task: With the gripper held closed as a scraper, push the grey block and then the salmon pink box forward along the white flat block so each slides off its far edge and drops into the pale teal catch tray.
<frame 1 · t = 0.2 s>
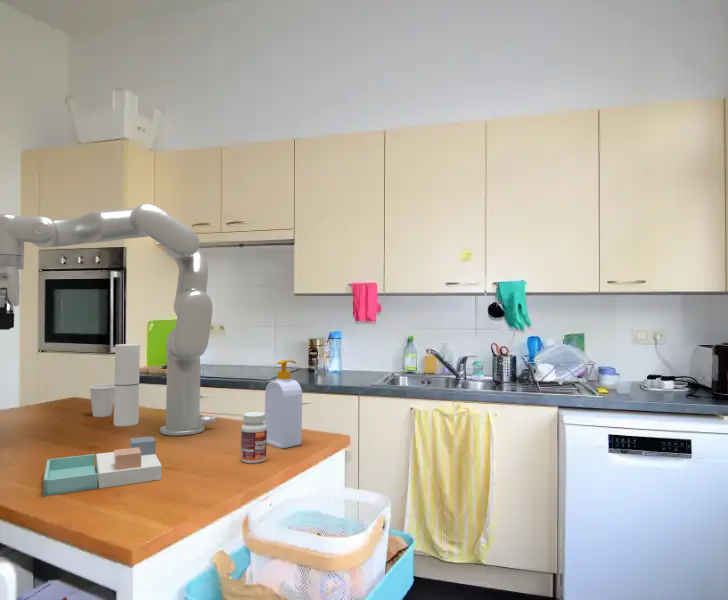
hand: (4, 328, 133), 31 cm above the table, fingers open, 9 cm apart
pill bottle: (253, 460, 126), on the table
salmon pink box: (127, 465, 111), point 3 cm above the table, touching white flat block
soap bottle: (283, 444, 142), on the table
dixie cup: (102, 415, 175), on the table
catch tray: (71, 480, 110), on the table
cylindrical container: (126, 424, 163), on the table
grey block: (142, 452, 121), point 3 cm above the table, touching white flat block
white flat block: (127, 473, 115), on the table
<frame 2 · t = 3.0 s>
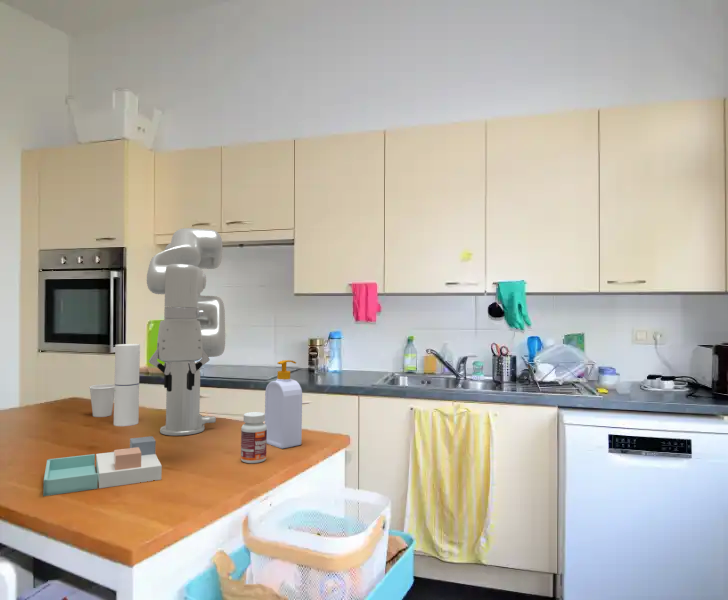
hand: (179, 389, 125), 17 cm above the table, fingers open, 4 cm apart
nothing on the table moved.
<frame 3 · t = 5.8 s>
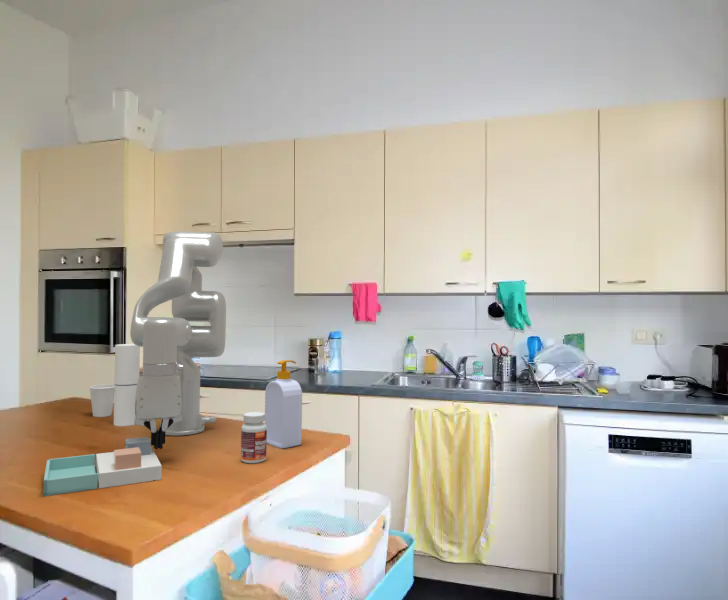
hand: (157, 447, 122), 4 cm above the table, fingers closed
grey block: (137, 453, 120), point 3 cm above the table, touching gripper
everything else where it was.
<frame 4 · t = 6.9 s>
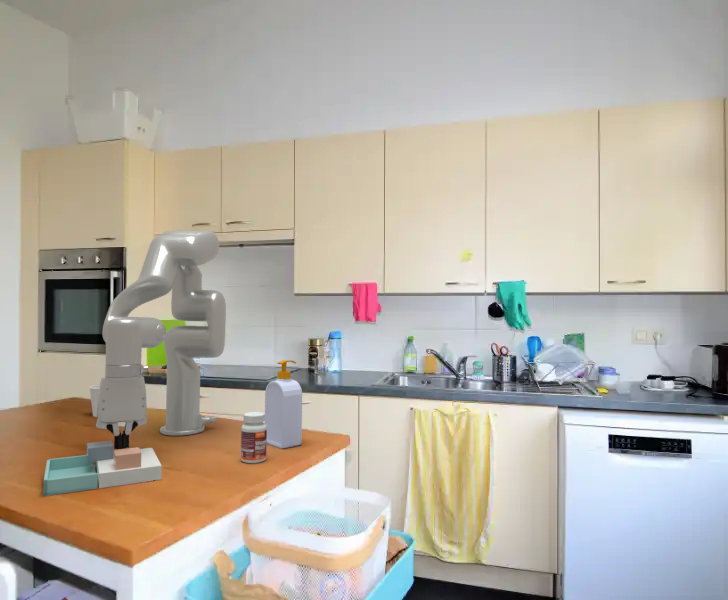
hand: (121, 451, 119), 4 cm above the table, fingers closed
grey block: (99, 457, 116), point 3 cm above the table, touching white flat block, gripper
everything else where it was.
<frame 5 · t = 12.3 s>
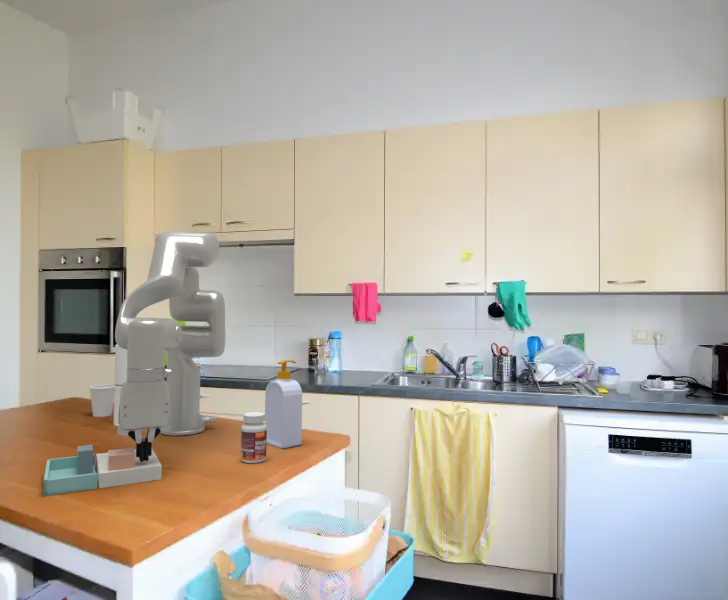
hand: (143, 459, 113), 4 cm above the table, fingers closed
salmon pink box: (121, 465, 110), point 3 cm above the table, touching gripper
grey block: (92, 458, 115), point 3 cm above the table, tilted 90°, touching catch tray
everything else where it was.
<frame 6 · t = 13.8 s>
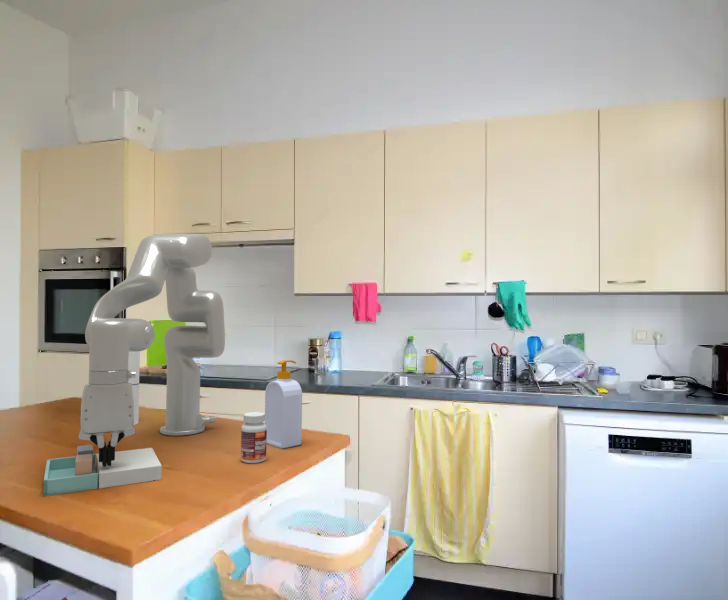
hand: (106, 464, 109), 4 cm above the table, fingers closed
salmon pink box: (91, 468, 108), point 3 cm above the table, tilted 90°, touching catch tray
everything else where it was.
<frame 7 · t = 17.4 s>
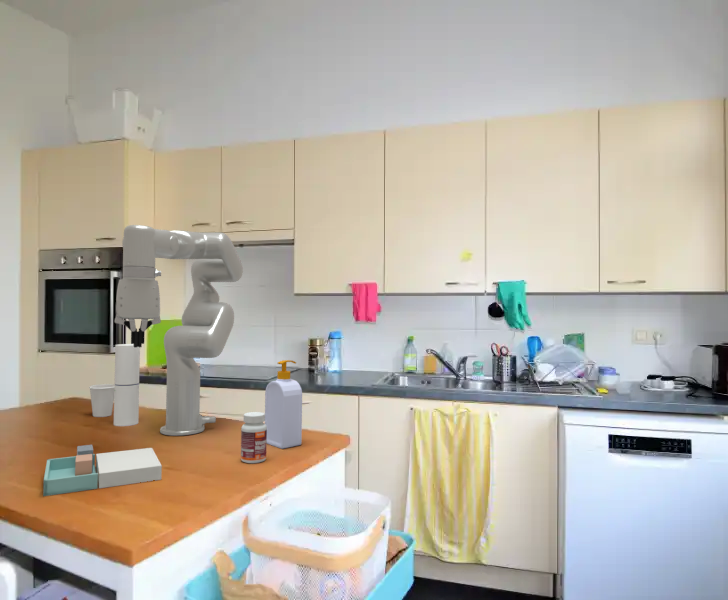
hand: (137, 346, 130), 27 cm above the table, fingers closed
nothing on the table moved.
at the end: grey block inside the target area on the catch tray (6.0 cm from its centre), point 3.1 cm above the catch tray's base; salmon pink box inside the target area on the catch tray (5.8 cm from its centre), point 3.1 cm above the catch tray's base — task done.
